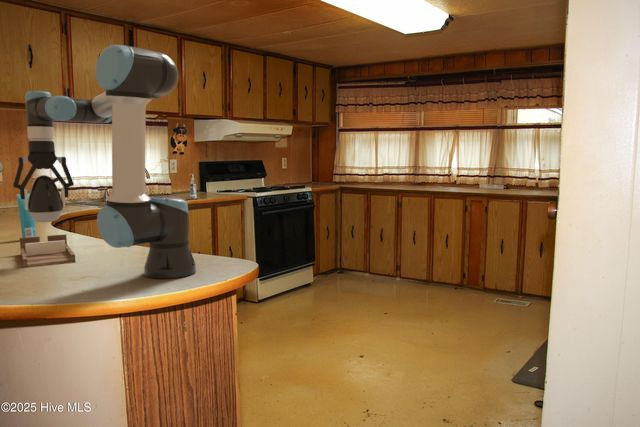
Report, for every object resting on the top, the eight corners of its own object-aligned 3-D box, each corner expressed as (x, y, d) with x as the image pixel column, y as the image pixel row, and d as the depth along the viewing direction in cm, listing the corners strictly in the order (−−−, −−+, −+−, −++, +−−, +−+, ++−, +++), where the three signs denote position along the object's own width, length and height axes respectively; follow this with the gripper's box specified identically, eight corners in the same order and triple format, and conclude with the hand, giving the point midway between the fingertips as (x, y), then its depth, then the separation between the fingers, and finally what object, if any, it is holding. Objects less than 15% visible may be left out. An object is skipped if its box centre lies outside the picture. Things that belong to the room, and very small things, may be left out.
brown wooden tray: (75, 262, 176) (74, 244, 175) (24, 267, 168) (22, 248, 167) (66, 250, 196) (66, 234, 195) (20, 254, 188) (19, 237, 187)
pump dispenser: (49, 223, 167) (46, 176, 165) (21, 222, 169) (18, 175, 167) (70, 219, 177) (68, 174, 175) (44, 218, 179) (41, 174, 177)
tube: (33, 237, 222) (30, 192, 220) (41, 238, 220) (38, 193, 218) (16, 240, 216) (13, 194, 213) (24, 241, 214) (20, 194, 211)
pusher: (65, 251, 187) (65, 240, 187) (26, 255, 181) (25, 244, 180) (63, 248, 194) (62, 237, 194) (24, 251, 188) (24, 240, 187)
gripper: (77, 140, 179) (81, 205, 182) (0, 140, 167) (5, 209, 170) (80, 140, 173) (84, 207, 175) (0, 139, 161) (5, 211, 164)
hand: (45, 208), depth 173 cm, fingers closed on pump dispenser, 10 cm apart
